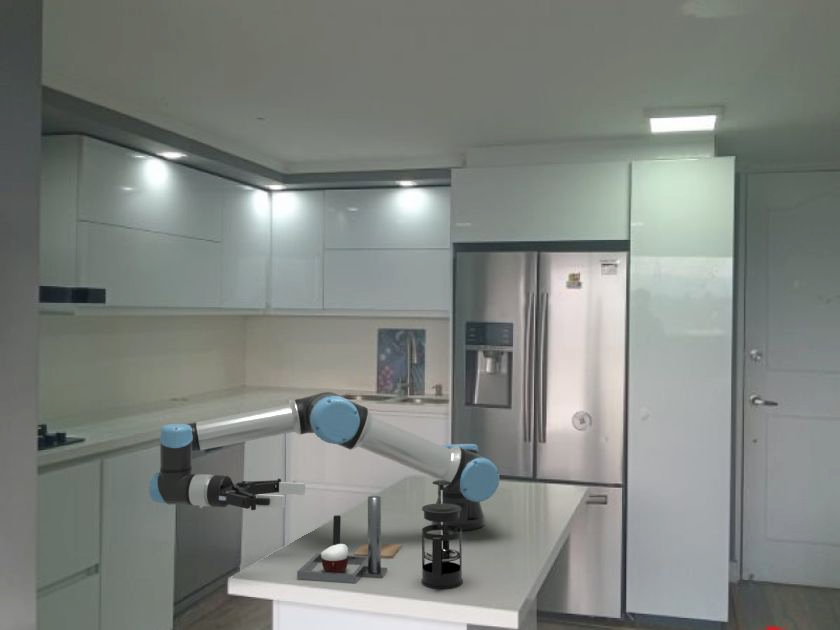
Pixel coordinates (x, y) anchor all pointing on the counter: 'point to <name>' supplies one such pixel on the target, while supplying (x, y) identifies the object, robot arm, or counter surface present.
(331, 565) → the cocoa
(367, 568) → the ring stand
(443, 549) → the french press
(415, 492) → the counter surface
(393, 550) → the walnut coaster
